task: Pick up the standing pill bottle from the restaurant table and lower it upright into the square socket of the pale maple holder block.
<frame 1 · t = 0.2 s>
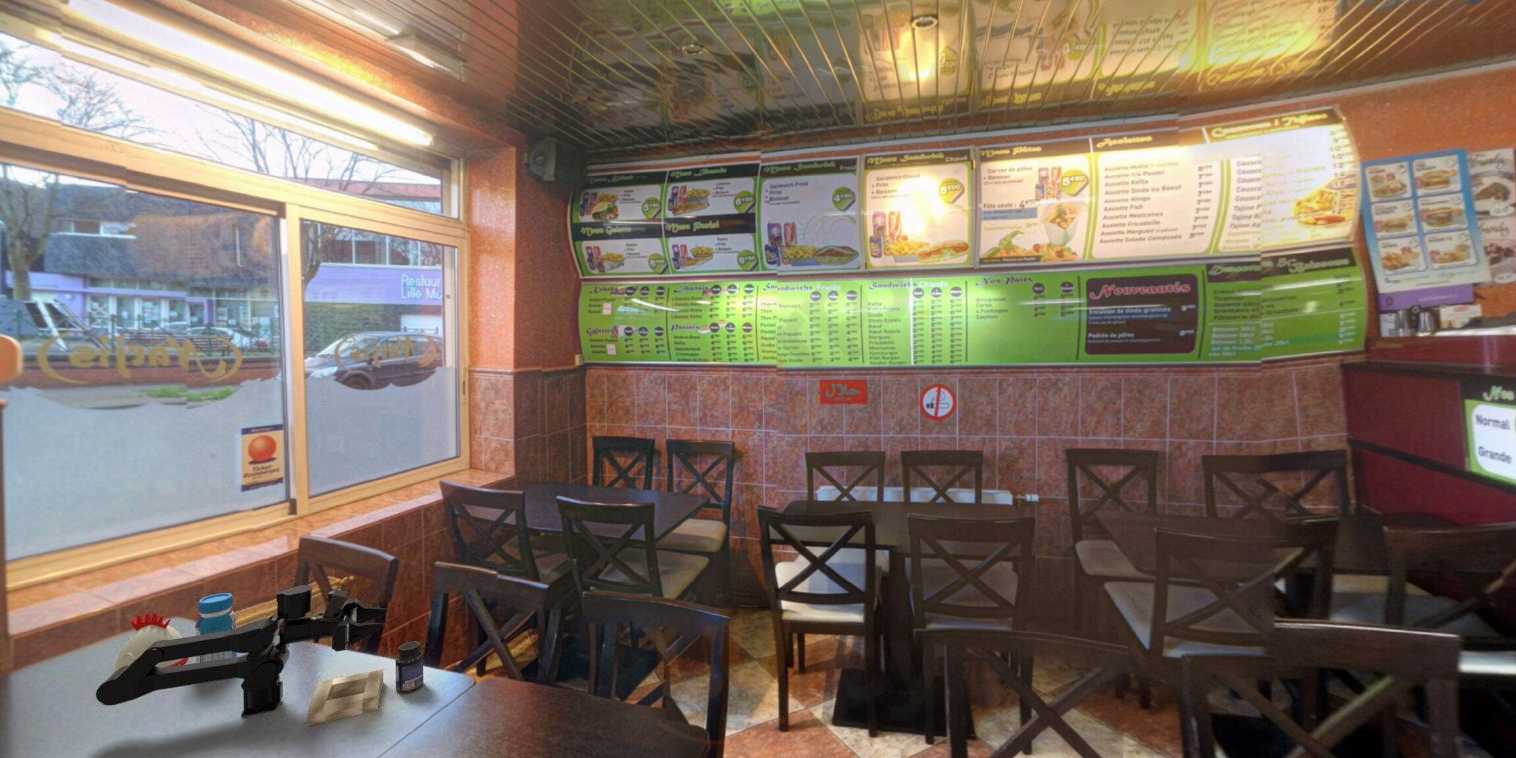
hand: (385, 617, 153), 17 cm above the table, tool horizontal, fingers open, 9 cm apart
holder block: (347, 702, 144), on the table
pill bottle: (409, 688, 151), on the table
cream hat: (152, 668, 158), on the table
beverage bottle: (217, 671, 157), on the table
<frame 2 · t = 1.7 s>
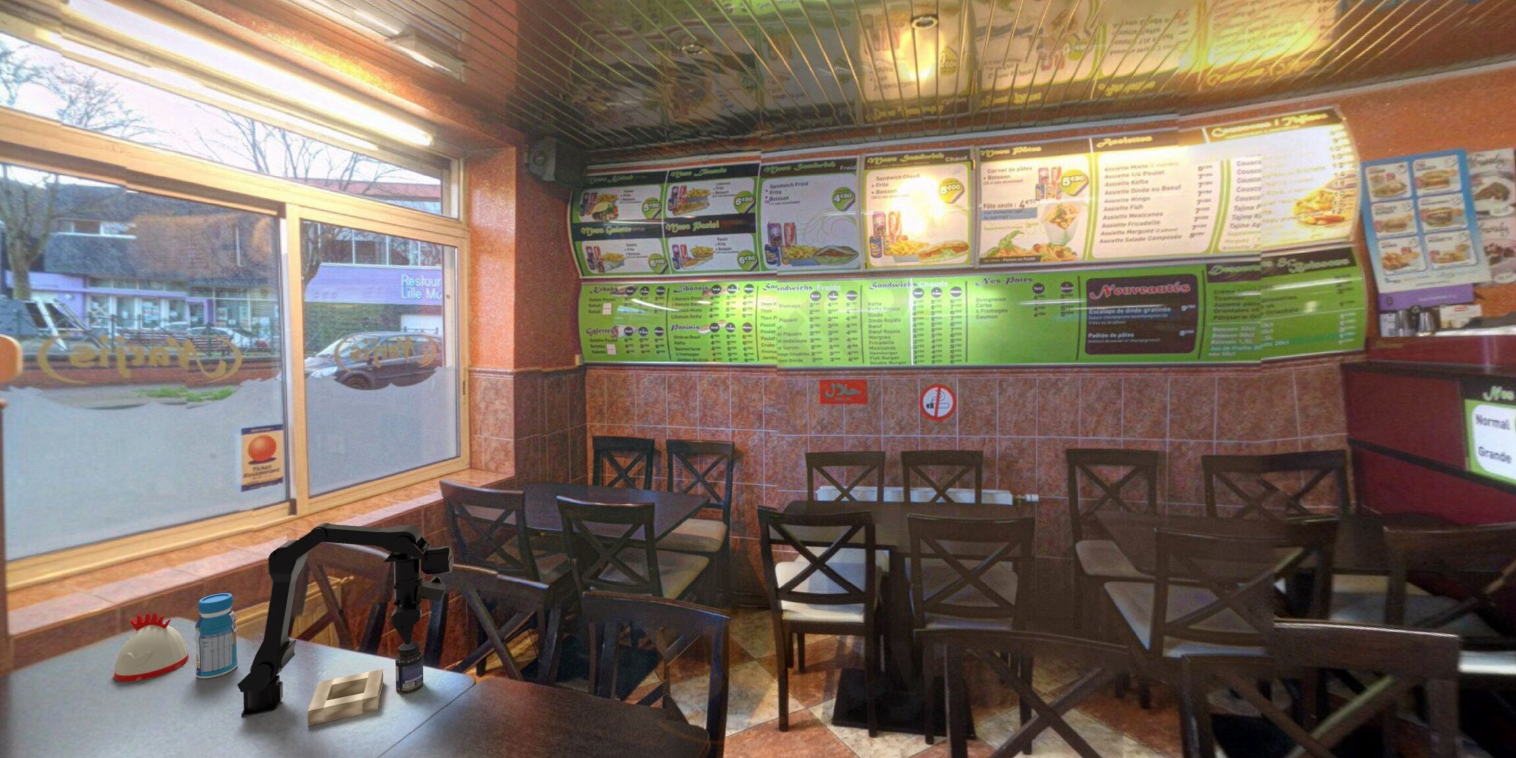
hand: (409, 636, 150), 13 cm above the table, tool pointing down, fingers open, 9 cm apart
nothing on the table moved.
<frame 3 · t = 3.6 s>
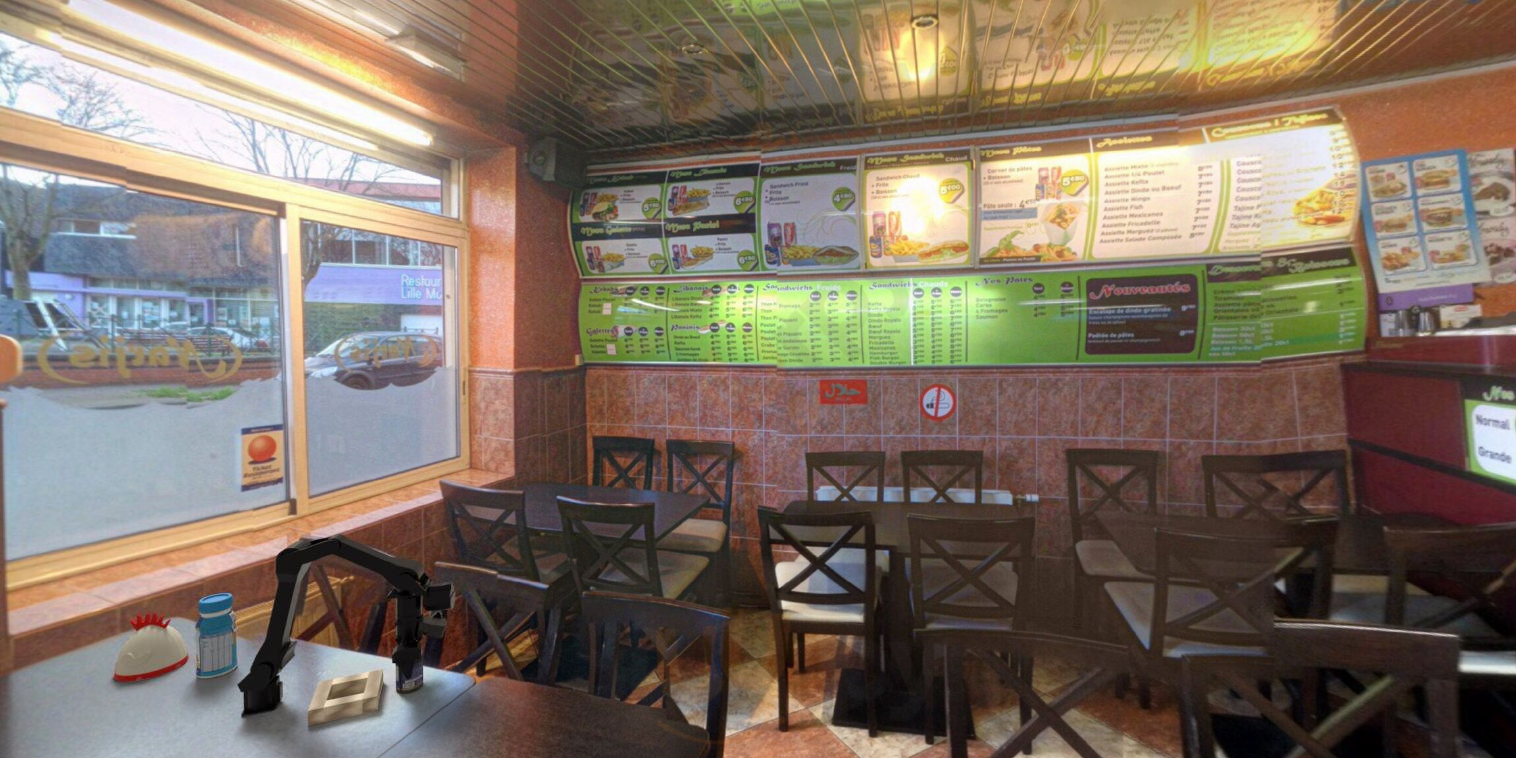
hand: (409, 672, 151), 4 cm above the table, tool pointing down, fingers closed on pill bottle, 6 cm apart
pill bottle: (409, 688, 151), on the table, touching gripper
everything else where it was.
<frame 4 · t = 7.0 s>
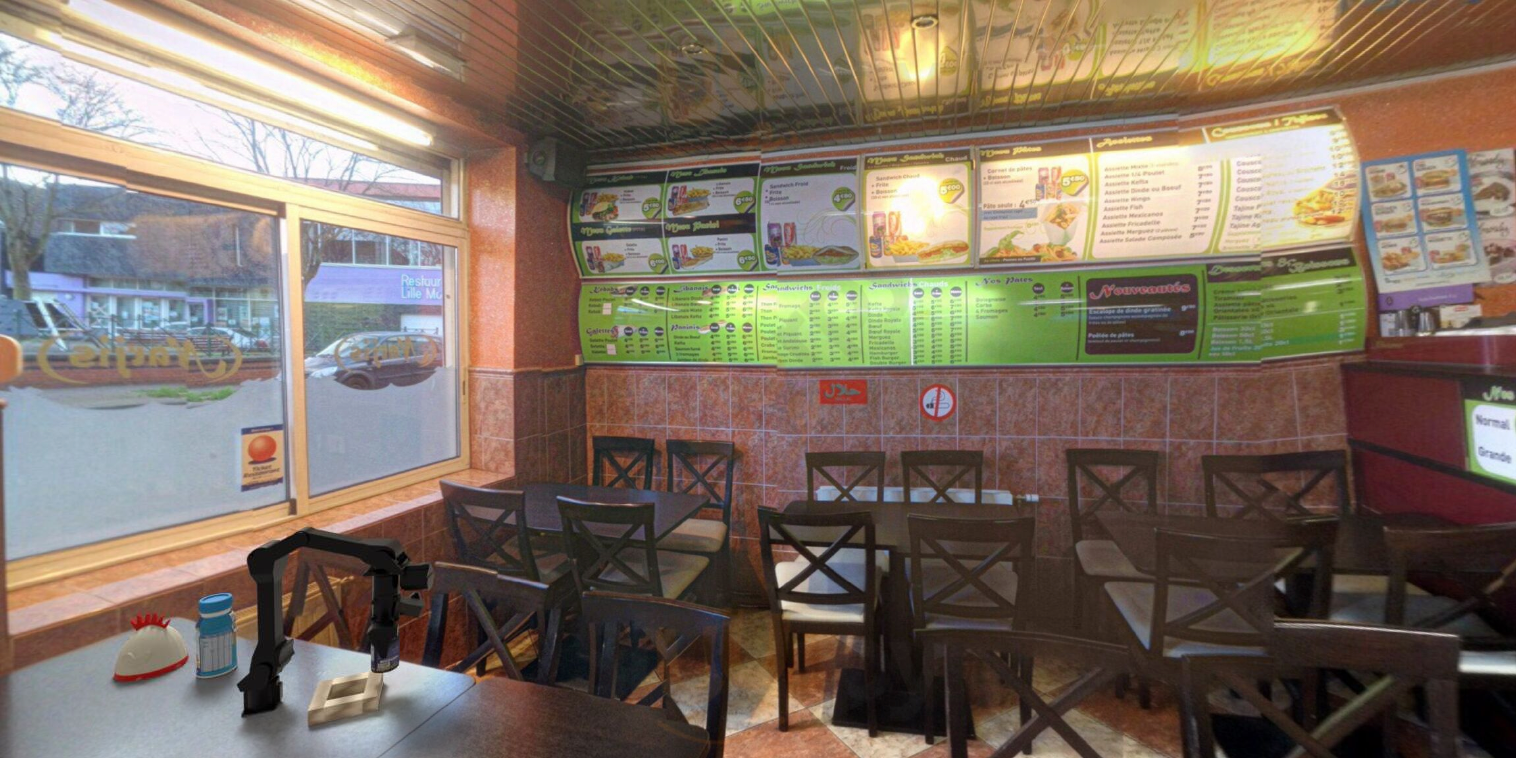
hand: (385, 652, 148), 10 cm above the table, tool pointing down, fingers closed on pill bottle, 6 cm apart
pill bottle: (385, 668, 148), point 6 cm above the table, touching gripper
everything else where it was.
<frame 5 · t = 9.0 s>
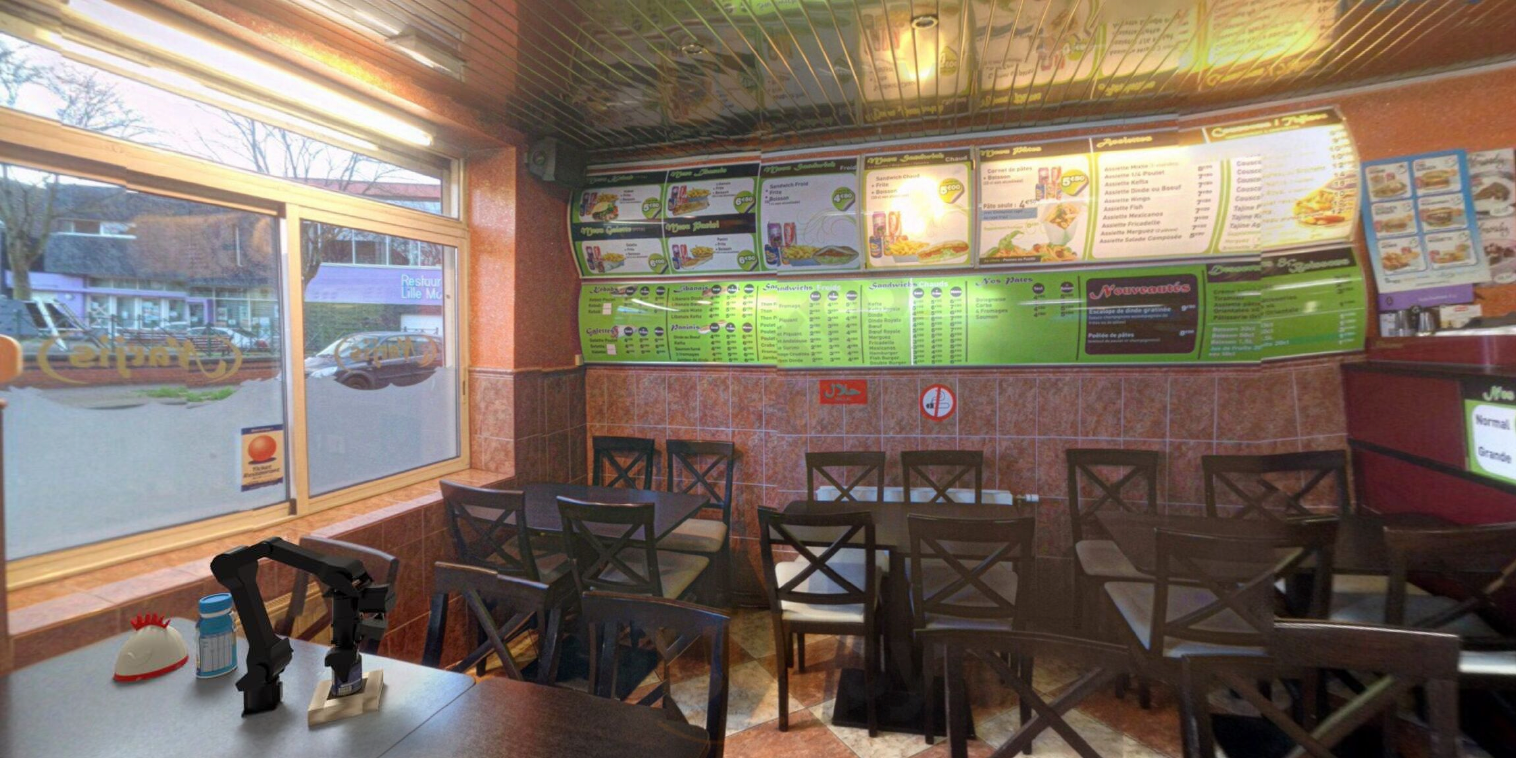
hand: (346, 675, 144), 7 cm above the table, tool pointing down, fingers closed on pill bottle, 6 cm apart
pill bottle: (347, 692, 144), point 3 cm above the table, touching gripper
everything else where it was.
when the fingers open (5 cm above the table, at t = 10.6 s): pill bottle stays where it is, resting in holder block.
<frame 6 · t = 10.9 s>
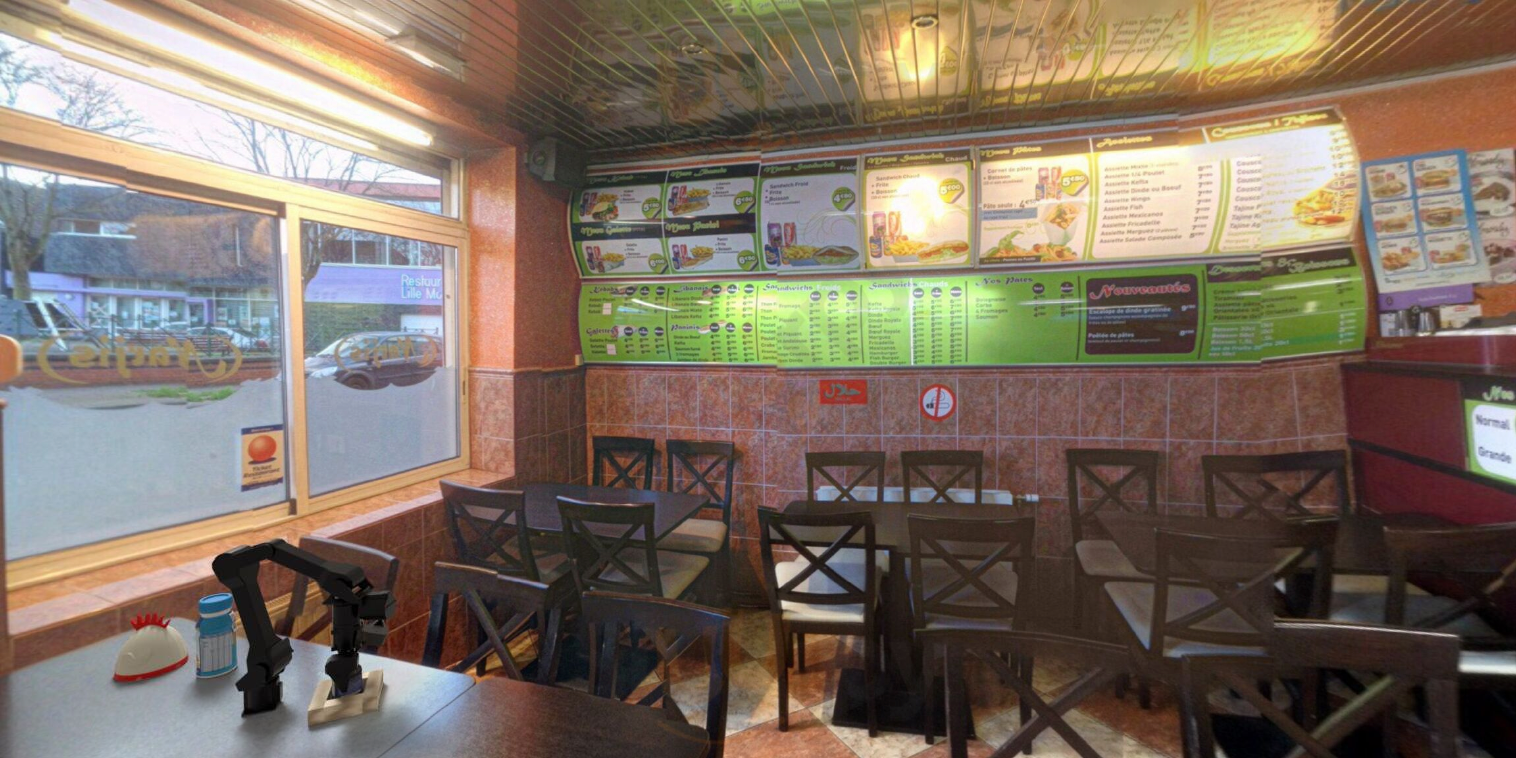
hand: (347, 682, 144), 5 cm above the table, tool pointing down, fingers open, 9 cm apart
pill bottle: (347, 703, 144), resting in holder block
everything else where it was.
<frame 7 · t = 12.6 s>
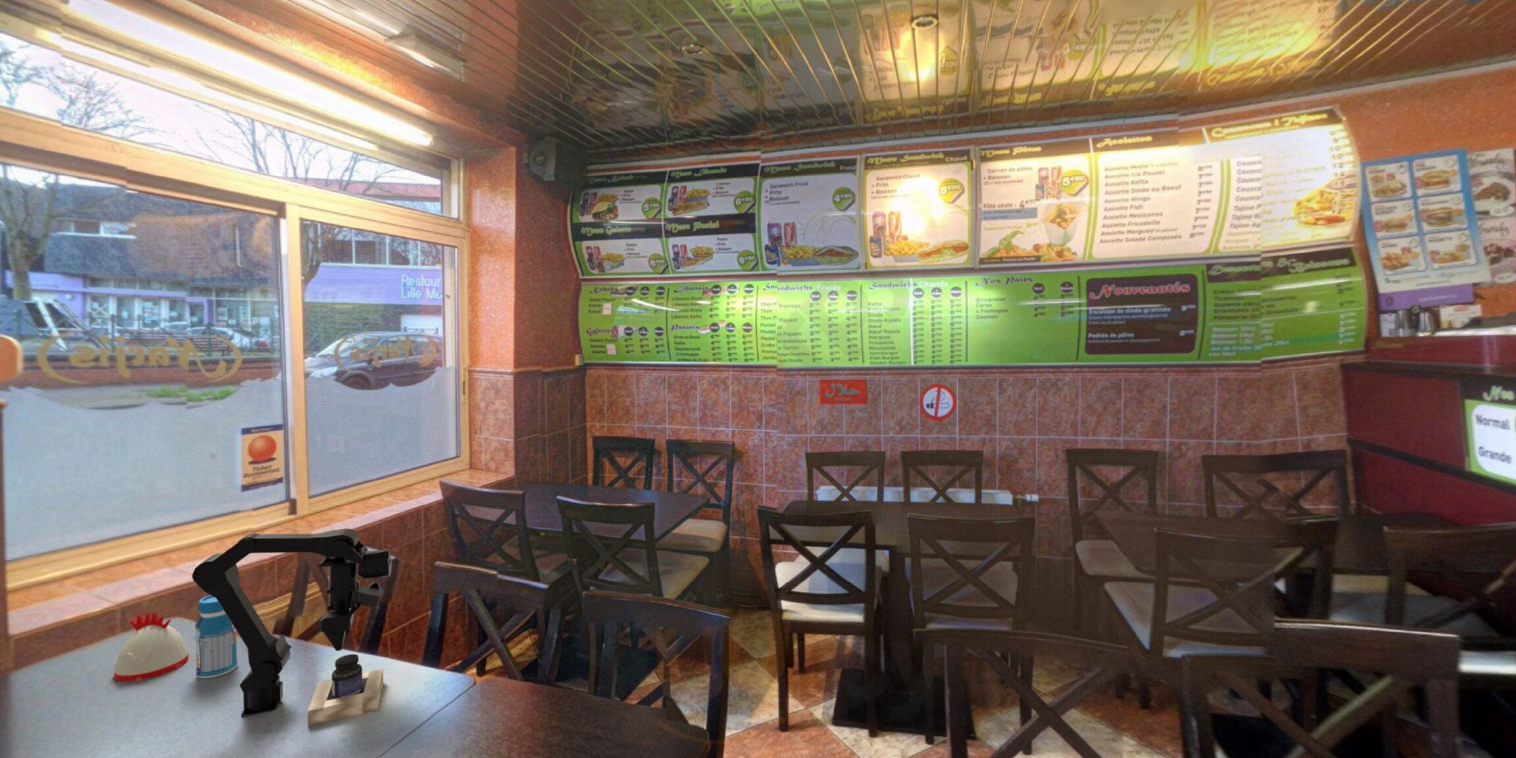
hand: (343, 641, 148), 13 cm above the table, tool pointing down, fingers open, 9 cm apart
nothing on the table moved.
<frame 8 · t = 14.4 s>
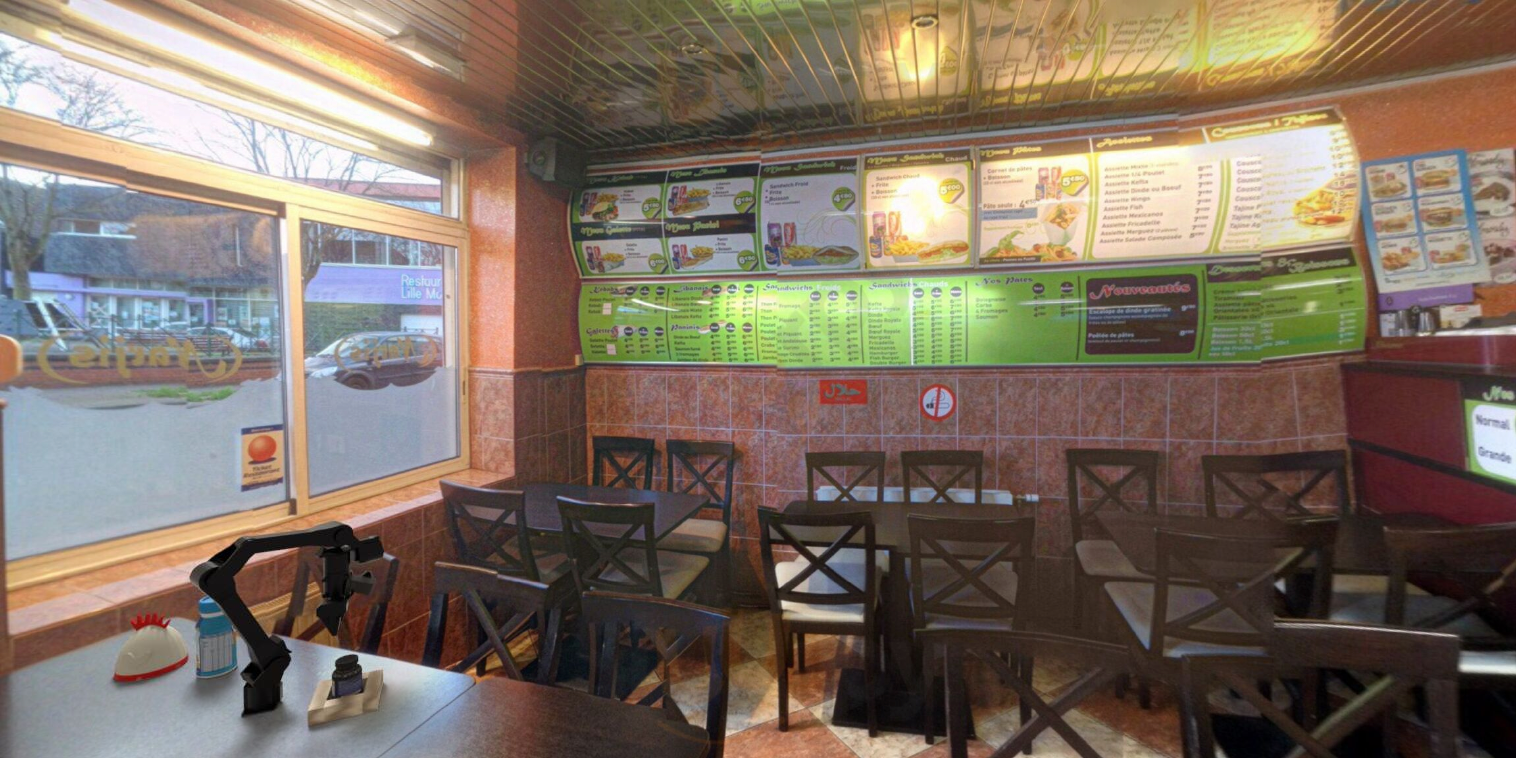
hand: (337, 628, 155), 13 cm above the table, tool pointing down, fingers open, 9 cm apart
nothing on the table moved.
at the end: pill bottle 0.1 cm off-centre on the holder block, point 0.0 cm above the holder block's base; pill bottle tilted 0°; the gripper is holding nothing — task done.
